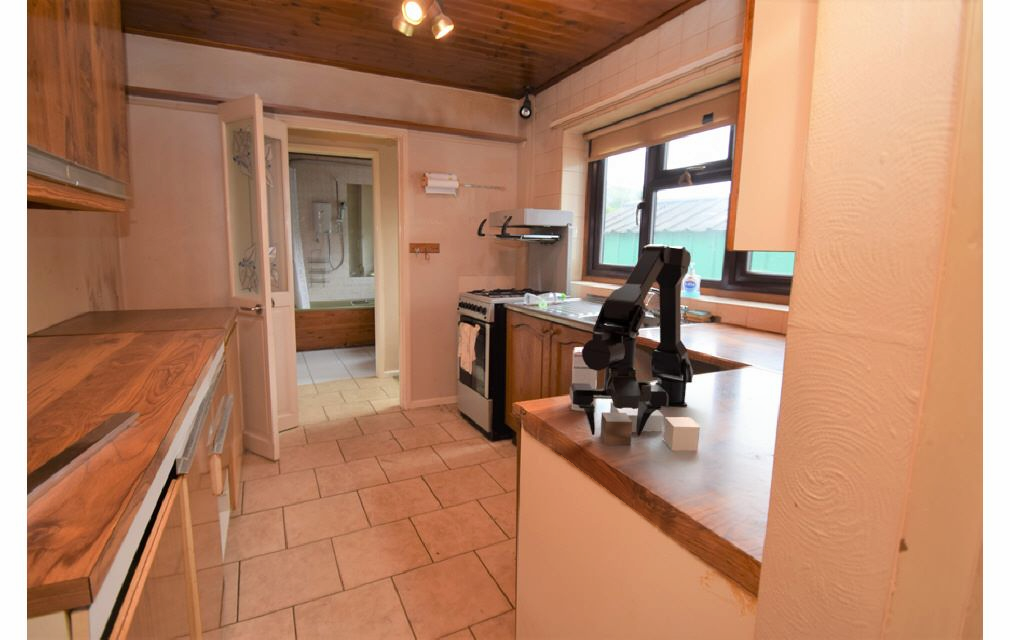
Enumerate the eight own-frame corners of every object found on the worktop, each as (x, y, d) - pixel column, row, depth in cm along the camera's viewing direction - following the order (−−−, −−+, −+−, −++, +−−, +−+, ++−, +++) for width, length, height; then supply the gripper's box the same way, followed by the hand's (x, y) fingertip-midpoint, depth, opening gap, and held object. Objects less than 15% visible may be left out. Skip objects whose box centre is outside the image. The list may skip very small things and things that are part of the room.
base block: (648, 417, 108) (649, 401, 108) (662, 433, 99) (663, 415, 99) (609, 417, 108) (610, 401, 107) (620, 433, 99) (621, 415, 98)
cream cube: (687, 440, 95) (689, 417, 94) (697, 451, 90) (699, 427, 89) (663, 440, 95) (665, 417, 94) (671, 450, 90) (673, 426, 89)
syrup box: (595, 412, 110) (598, 352, 108) (570, 410, 111) (572, 351, 109) (595, 404, 116) (598, 347, 113) (571, 402, 117) (574, 346, 114)
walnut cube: (624, 435, 97) (625, 412, 96) (630, 445, 92) (632, 421, 91) (600, 435, 97) (601, 412, 96) (605, 445, 92) (606, 421, 91)
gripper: (578, 370, 84) (575, 451, 87) (682, 372, 84) (675, 453, 87) (570, 355, 95) (567, 428, 98) (661, 357, 95) (656, 429, 98)
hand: (615, 435), depth 95 cm, fingers open, 9 cm apart
